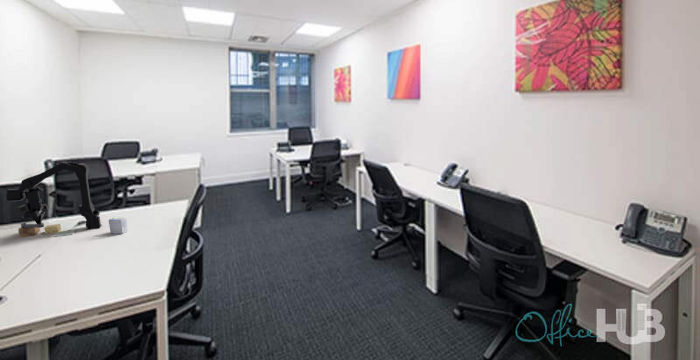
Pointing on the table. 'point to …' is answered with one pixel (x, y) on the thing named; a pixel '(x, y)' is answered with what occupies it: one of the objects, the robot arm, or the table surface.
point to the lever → (32, 225)
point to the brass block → (52, 228)
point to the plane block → (28, 231)
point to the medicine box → (118, 225)
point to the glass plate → (64, 233)
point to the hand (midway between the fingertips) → (39, 225)
